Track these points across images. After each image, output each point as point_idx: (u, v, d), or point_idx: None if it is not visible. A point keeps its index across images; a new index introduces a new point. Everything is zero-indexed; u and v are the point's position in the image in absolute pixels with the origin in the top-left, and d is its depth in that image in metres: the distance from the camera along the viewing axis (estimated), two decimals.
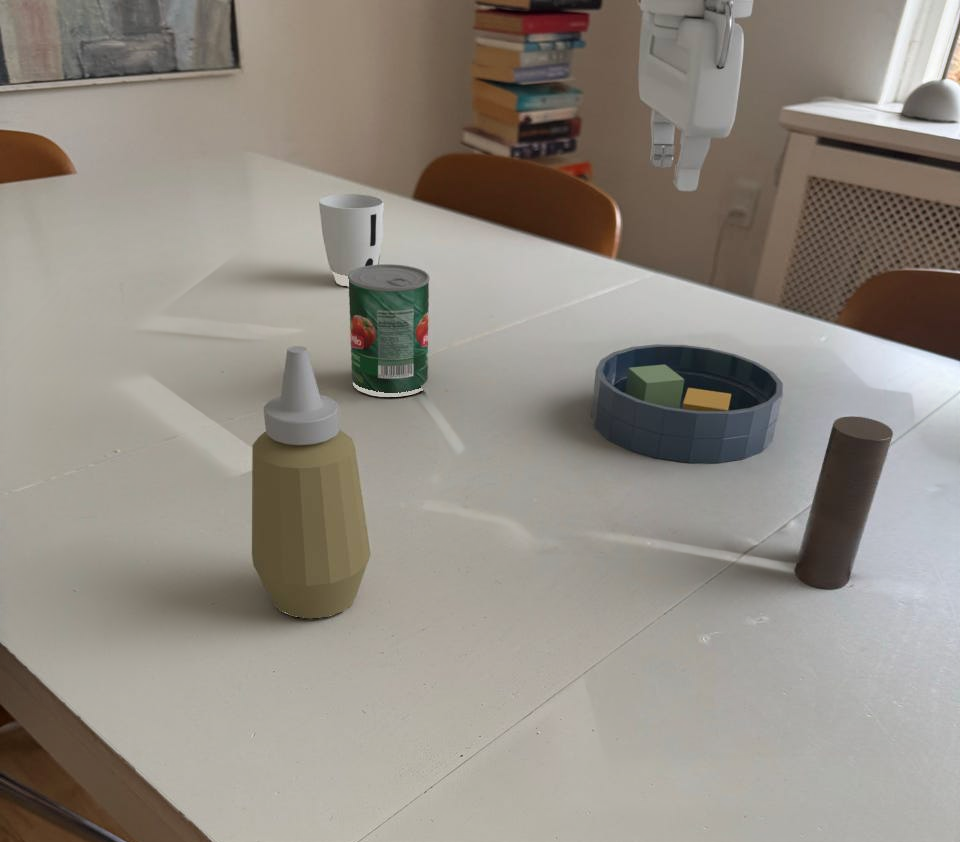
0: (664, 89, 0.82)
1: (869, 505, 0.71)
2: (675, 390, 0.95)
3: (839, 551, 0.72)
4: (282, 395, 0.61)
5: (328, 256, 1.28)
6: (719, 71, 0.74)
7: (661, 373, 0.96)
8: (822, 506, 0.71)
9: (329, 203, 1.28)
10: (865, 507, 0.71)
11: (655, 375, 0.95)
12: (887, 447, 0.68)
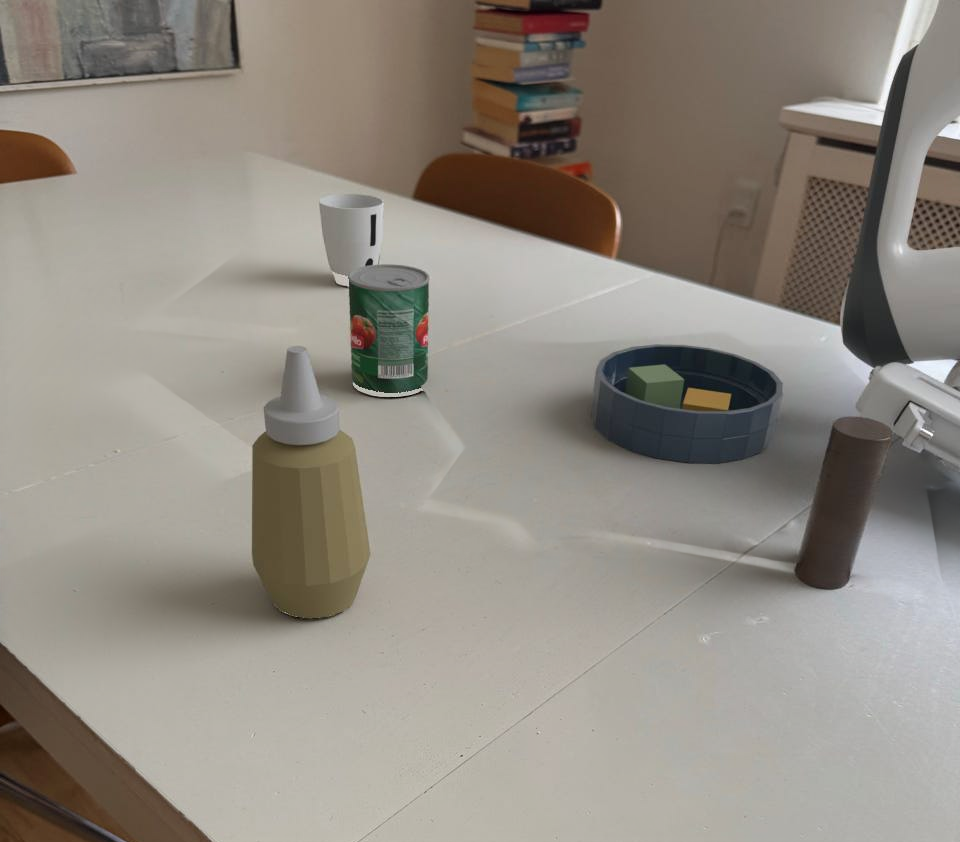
0: None
1: (869, 505, 0.71)
2: (675, 390, 0.95)
3: (839, 551, 0.72)
4: (282, 395, 0.61)
5: (328, 256, 1.28)
6: None
7: (661, 373, 0.96)
8: (822, 506, 0.71)
9: (329, 203, 1.28)
10: (865, 507, 0.71)
11: (655, 375, 0.95)
12: (887, 447, 0.68)
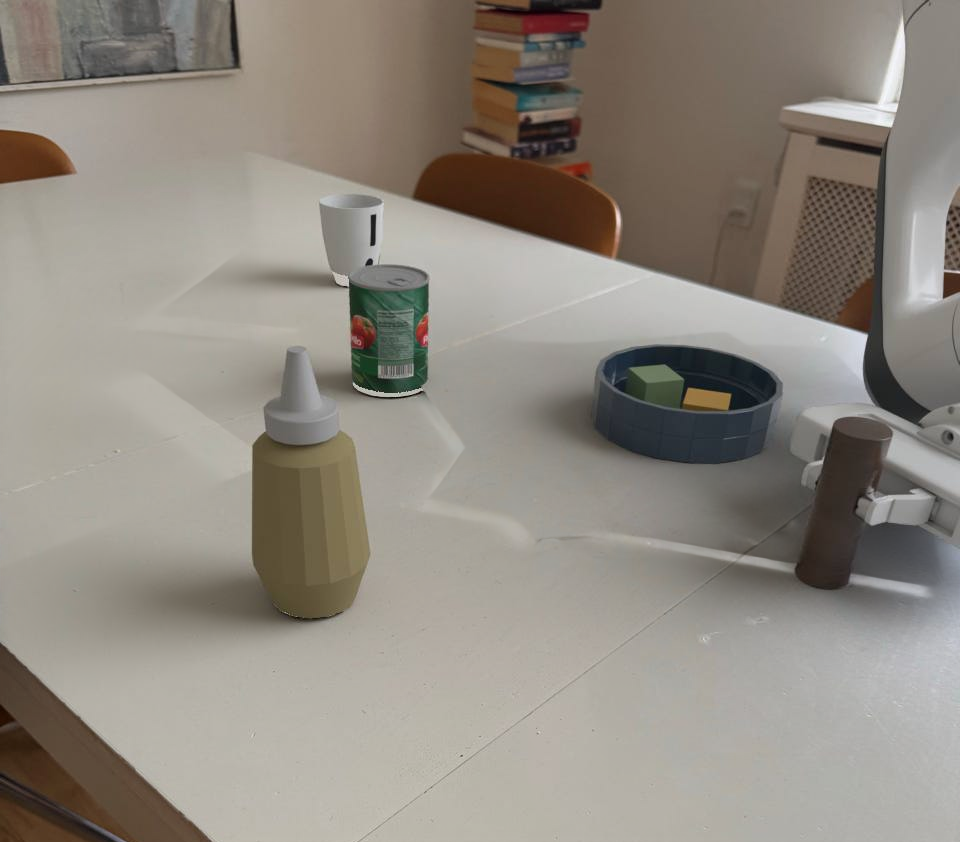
0: None
1: None
2: (675, 390, 0.95)
3: (839, 551, 0.72)
4: (282, 395, 0.61)
5: (328, 256, 1.28)
6: None
7: (661, 373, 0.96)
8: (822, 506, 0.71)
9: (329, 203, 1.28)
10: None
11: (655, 375, 0.95)
12: (887, 447, 0.68)
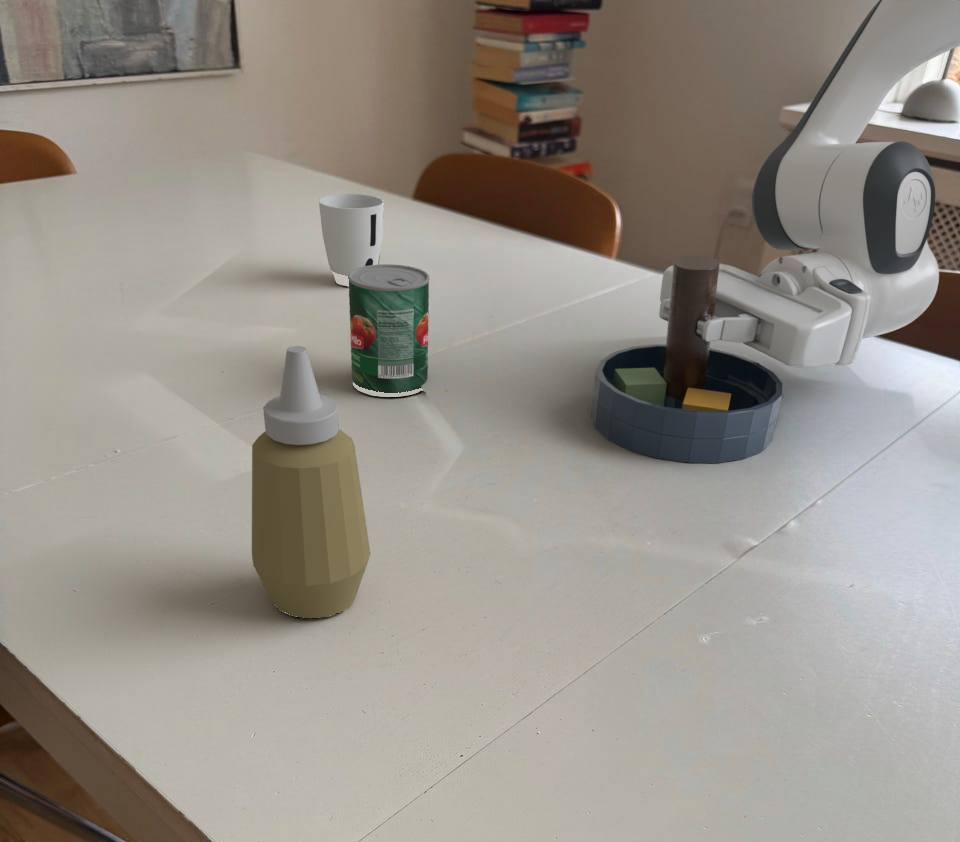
0: None
1: None
2: (657, 394, 0.94)
3: (689, 366, 0.92)
4: (282, 395, 0.61)
5: (328, 256, 1.28)
6: None
7: (646, 376, 0.95)
8: (672, 330, 0.91)
9: (329, 203, 1.28)
10: None
11: (638, 378, 0.94)
12: (714, 276, 0.87)
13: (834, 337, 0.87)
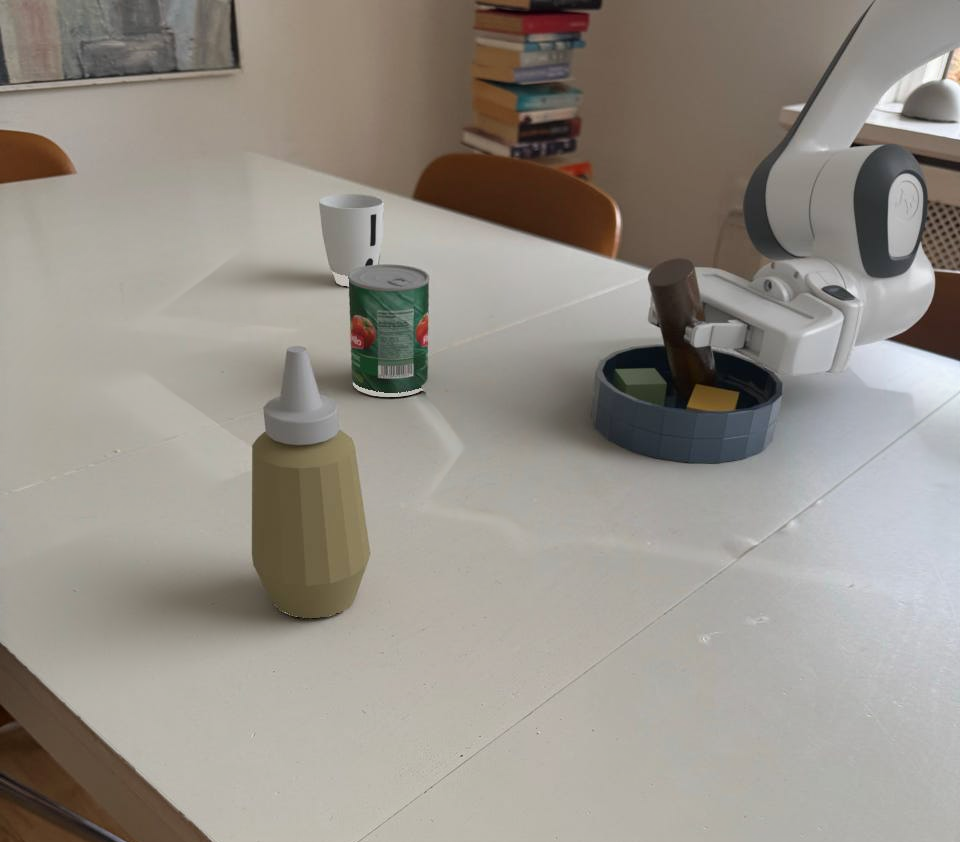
0: None
1: None
2: (657, 394, 0.94)
3: (688, 368, 0.91)
4: (282, 395, 0.61)
5: (328, 256, 1.28)
6: None
7: (646, 377, 0.95)
8: (663, 337, 0.90)
9: (329, 203, 1.28)
10: None
11: (639, 378, 0.94)
12: (688, 285, 0.85)
13: (825, 344, 0.85)
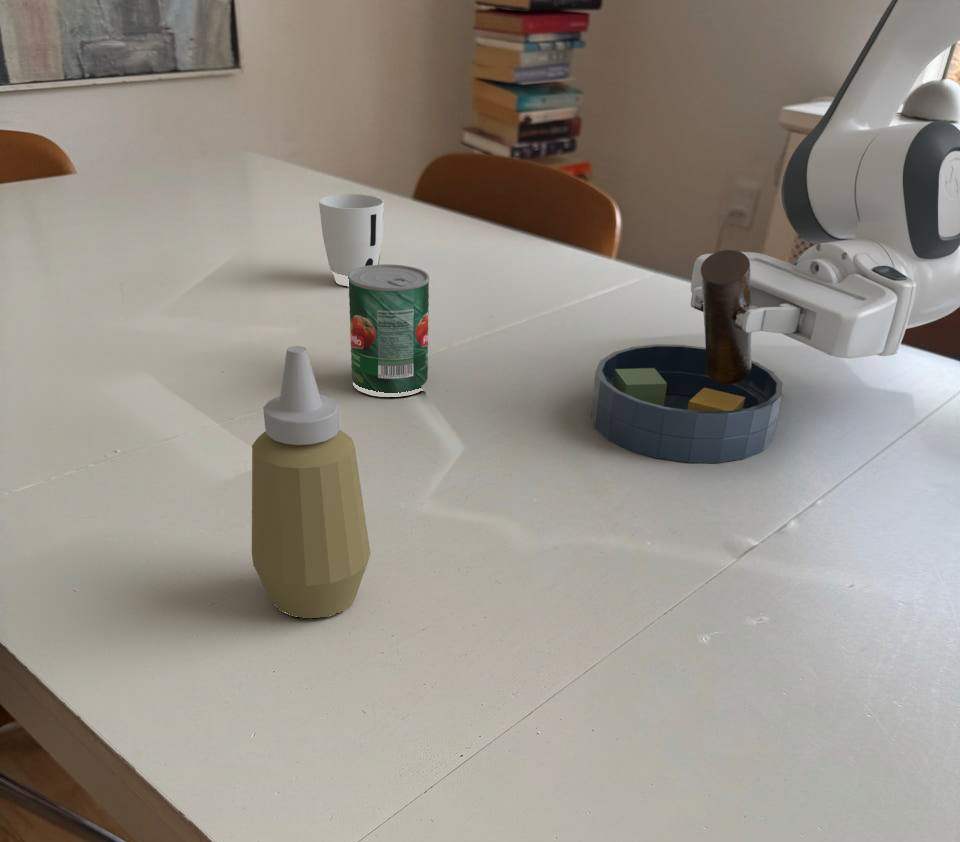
0: None
1: None
2: (657, 394, 0.94)
3: (724, 359, 0.89)
4: (282, 395, 0.61)
5: (328, 256, 1.28)
6: None
7: (646, 377, 0.95)
8: (705, 325, 0.88)
9: (329, 203, 1.28)
10: (735, 328, 0.86)
11: (639, 378, 0.94)
12: (740, 285, 0.82)
13: (879, 325, 0.83)
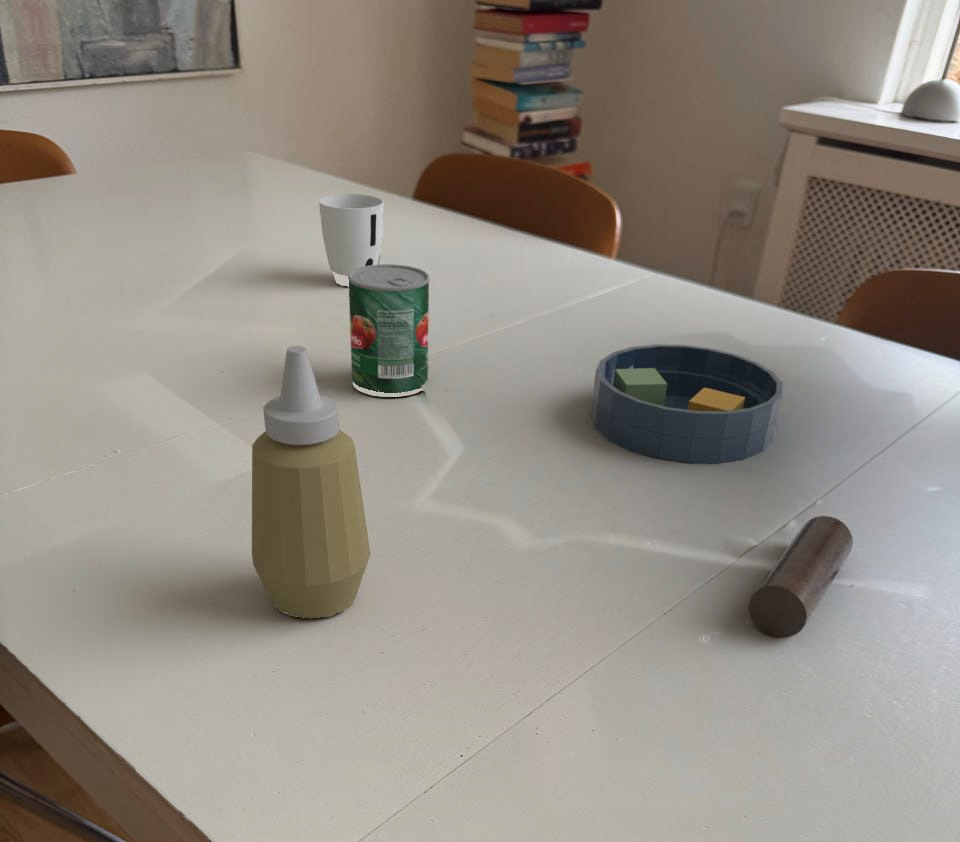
0: None
1: (823, 593, 0.71)
2: (657, 394, 0.94)
3: None
4: (282, 395, 0.61)
5: (328, 256, 1.28)
6: None
7: (646, 377, 0.95)
8: None
9: (329, 203, 1.28)
10: None
11: (639, 378, 0.94)
12: (806, 622, 0.68)
13: None
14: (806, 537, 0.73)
